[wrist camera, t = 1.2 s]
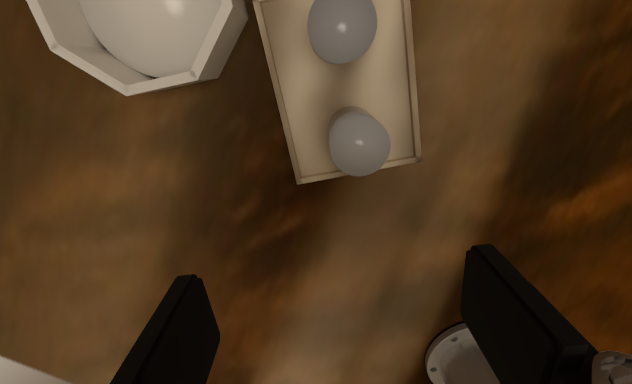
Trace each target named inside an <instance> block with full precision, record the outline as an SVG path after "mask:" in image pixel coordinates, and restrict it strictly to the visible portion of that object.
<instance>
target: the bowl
mask: <svg viewBox="0 0 632 384" xmlns="http://www.w3.org/2000/svg"><path fill="white" fill-rule="evenodd" d="M26 1H27V3H28V5H29V7H30V9H31V11H32V13H33V15H34V18H35V20H36V22H37V24H38V26H39V28H40V30H41V32H42V34H43V36H44V38H45V40H46V42H47V44H48V46H49V48H50V50H51V51H52V52H54V53H55V54H57V55H59V56H60V57H62V58H64V59H65V60H67V61H69V62H70V63H72V64H74V65H75V66H77V67H79V68H80V69H82V70H84V71H85V72H87V73H89V74H90V75H92V76H94V77H95V78H97V79H99V80H100V81H102V82H104V83H105V84H107V85H109V86H110V87H112V88H114V89H115V90H117V91H119V92H120V93H122V94H124V95H125V96H131V95H138V94H144V93H151V92H158V91H163V90H168V89H172V88H177V87H181V86H186V85H190V84H195V83H199V82H204V81H208V80H213V79H217V78H219V76H220V74H221V72H222V70H223V68H224V66H225V64H226V62H227V60H228V58H229V56H230V54H231V52H232V50H233V48H234V46H235V44H236V42H237V40H238V38H239V36H240V34H241V32H242V30H243V28H244V26H245V24H246V22H247V20H248V18H249V17H248V13H247V9H246V6H245V2H244V0H26ZM103 46H104V47H105V48H106V49H107V50H106V49H105V48H104V47H103ZM148 75H149V76H153V77H159V78H157V79H153V78H151V77H149V76H148Z"/></svg>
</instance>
